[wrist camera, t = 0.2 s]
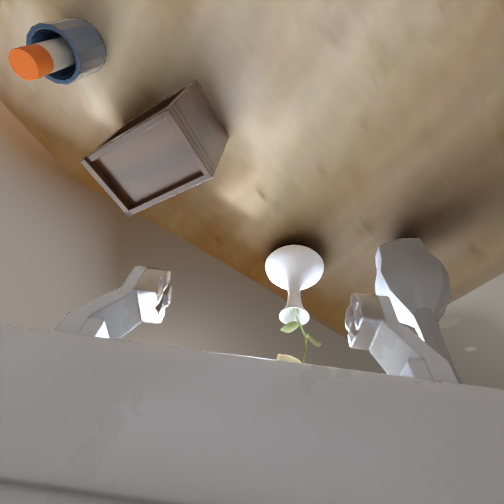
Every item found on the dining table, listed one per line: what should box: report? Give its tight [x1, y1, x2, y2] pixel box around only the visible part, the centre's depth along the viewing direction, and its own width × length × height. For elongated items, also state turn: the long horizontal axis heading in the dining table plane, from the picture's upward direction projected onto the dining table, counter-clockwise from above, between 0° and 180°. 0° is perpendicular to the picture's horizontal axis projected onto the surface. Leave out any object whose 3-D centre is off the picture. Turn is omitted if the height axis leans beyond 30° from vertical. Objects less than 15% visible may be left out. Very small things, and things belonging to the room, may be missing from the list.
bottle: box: [375, 238, 463, 384], centre depth 48 cm, size 11×11×30 cm
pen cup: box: [26, 18, 106, 84], centre depth 41 cm, size 6×6×7 cm
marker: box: [9, 37, 76, 81], centre depth 39 cm, size 3×3×12 cm
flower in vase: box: [265, 245, 324, 364], centre depth 55 cm, size 13×11×25 cm
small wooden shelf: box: [80, 80, 229, 216], centre depth 45 cm, size 9×14×13 cm, turn 118°
